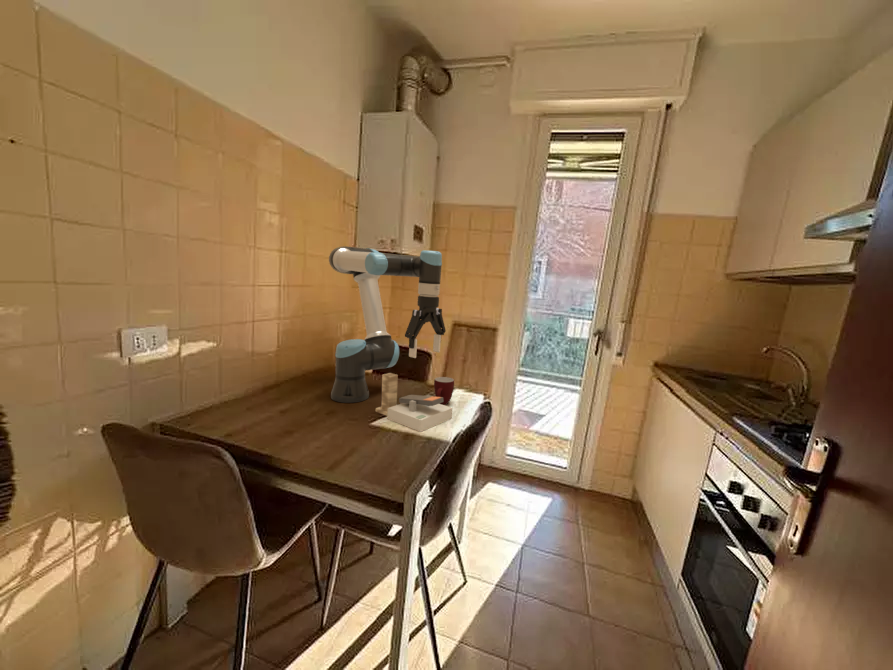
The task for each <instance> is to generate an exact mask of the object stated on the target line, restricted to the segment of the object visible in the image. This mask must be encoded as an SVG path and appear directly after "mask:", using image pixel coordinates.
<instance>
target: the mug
mask: <svg viewBox="0 0 893 670" xmlns="http://www.w3.org/2000/svg"><path fill="white" fill-rule="evenodd" d="M433 381H434V382H433V389H434V394H435V396H434V397H443V400H444V402H442V403H439V404H442V405H445V406H447V405H448V404H449V402H450V400H452V396H453V392H454V388H455V379H454V378H452V377H448V376H438V377H434V380H433Z"/></svg>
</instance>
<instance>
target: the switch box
mask: <svg viewBox="0 0 893 670" xmlns="http://www.w3.org/2000/svg"><path fill="white" fill-rule="evenodd" d="M425 396H430V395H428V394H427V395H425ZM386 419H387V420H390V421H392V422H394V423H397V424H400V425H402V426H405V427H408V428H409V429H412V430H414V431H418V432H419V433H421V432H424V431H426V430H428V429H431V428H433V427H436V426H438V425H441V424H442V423H445V422H447V421H450V420H452V419H453V407H451V406H448V405H442V404H437V405H434V406H428V405H419V404H416V401H413V400H411V401H409V403H400V404H397V405H396V406H393V407H389V408H388V414H387V418H386Z"/></svg>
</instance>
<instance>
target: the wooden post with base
mask: <svg viewBox="0 0 893 670" xmlns="http://www.w3.org/2000/svg"><path fill="white" fill-rule="evenodd" d="M381 376H382V377H381V405H380V406H378V407H375V412H376V413H379V414H381V415H384V416H387V414H388V408H389V407H393V406H396V405H398V384H399V383H398V382H399V381H398V380H399V379H398V376H399V375H398V374H397V373H396V374H395V373H392V372H388V373H384V374H382V375H381Z"/></svg>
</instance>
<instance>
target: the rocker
mask: <svg viewBox="0 0 893 670" xmlns="http://www.w3.org/2000/svg"><path fill="white" fill-rule="evenodd" d="M411 400H413V401H416V404H419V405H428V406H434V405H437V404H439V403H442V402H444V400H443V397H436V396H432V395H429V396H426V395H421V394H420V395H419V394H408V395H405V396H402V397H398V403H400V404H402V403H409V401H411Z"/></svg>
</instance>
